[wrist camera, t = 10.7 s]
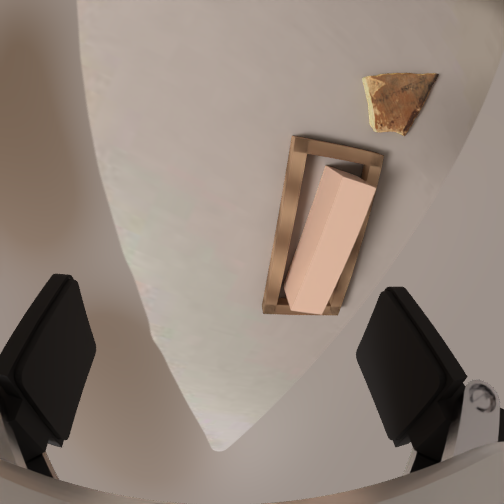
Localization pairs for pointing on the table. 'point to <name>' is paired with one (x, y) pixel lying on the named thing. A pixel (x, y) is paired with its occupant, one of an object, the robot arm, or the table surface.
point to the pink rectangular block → (327, 239)
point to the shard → (396, 99)
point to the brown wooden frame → (288, 213)
